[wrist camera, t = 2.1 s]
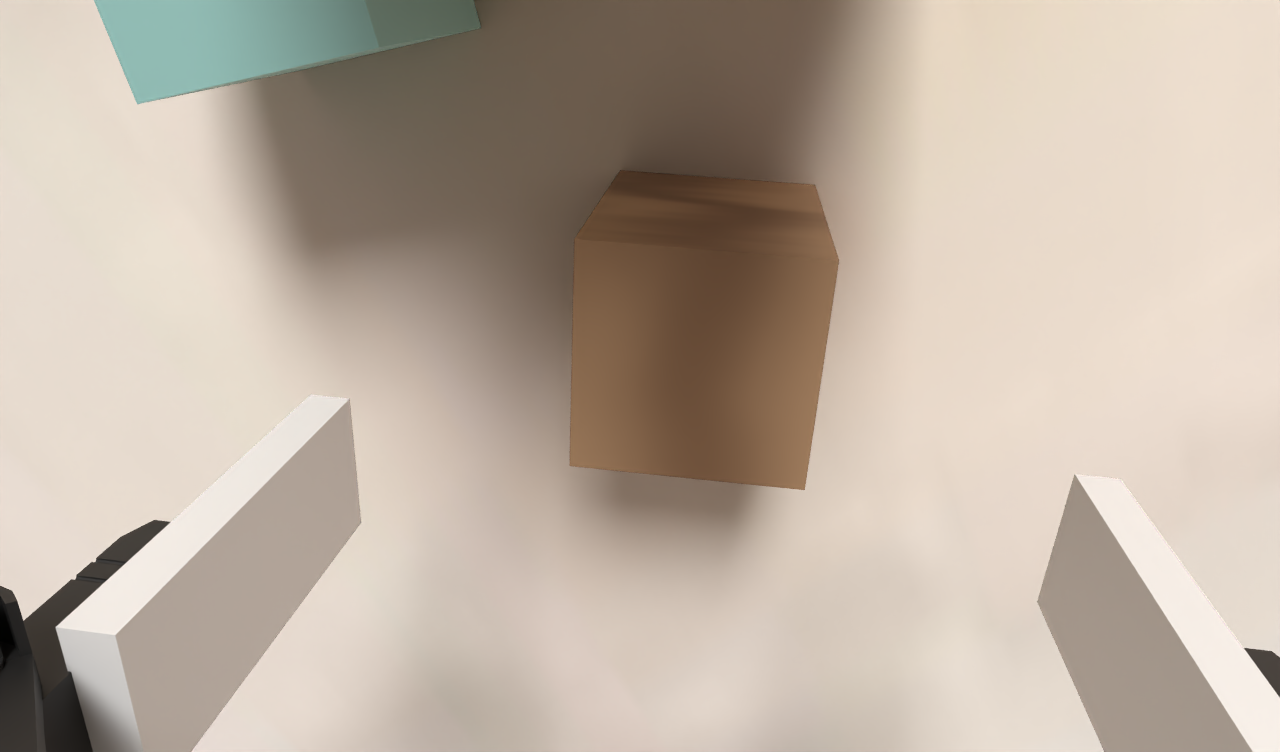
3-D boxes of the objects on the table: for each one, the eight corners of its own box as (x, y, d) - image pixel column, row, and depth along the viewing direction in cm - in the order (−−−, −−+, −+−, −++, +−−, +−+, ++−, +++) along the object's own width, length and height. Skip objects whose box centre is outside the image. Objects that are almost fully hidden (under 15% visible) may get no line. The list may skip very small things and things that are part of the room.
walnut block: (613, 347, 30) (569, 465, 23) (620, 170, 27) (574, 238, 20) (791, 364, 29) (804, 489, 22) (815, 184, 27) (839, 260, 20)
